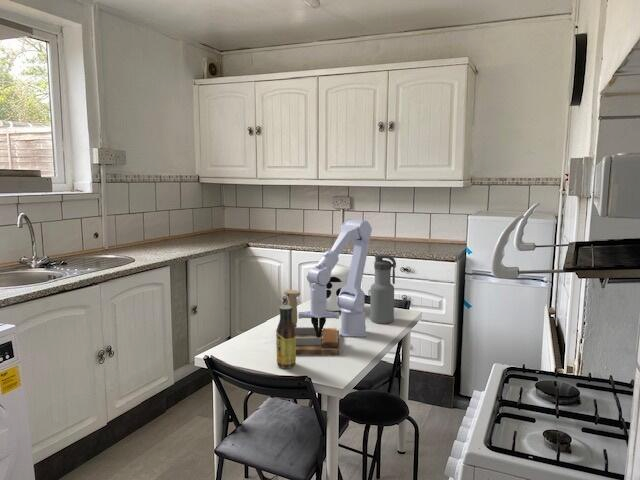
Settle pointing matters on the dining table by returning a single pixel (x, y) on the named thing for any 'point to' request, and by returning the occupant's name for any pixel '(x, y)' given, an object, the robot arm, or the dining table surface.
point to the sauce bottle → (286, 339)
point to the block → (329, 334)
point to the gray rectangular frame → (307, 339)
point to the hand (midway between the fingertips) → (318, 337)
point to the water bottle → (382, 290)
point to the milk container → (335, 287)
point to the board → (318, 346)
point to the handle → (293, 303)
